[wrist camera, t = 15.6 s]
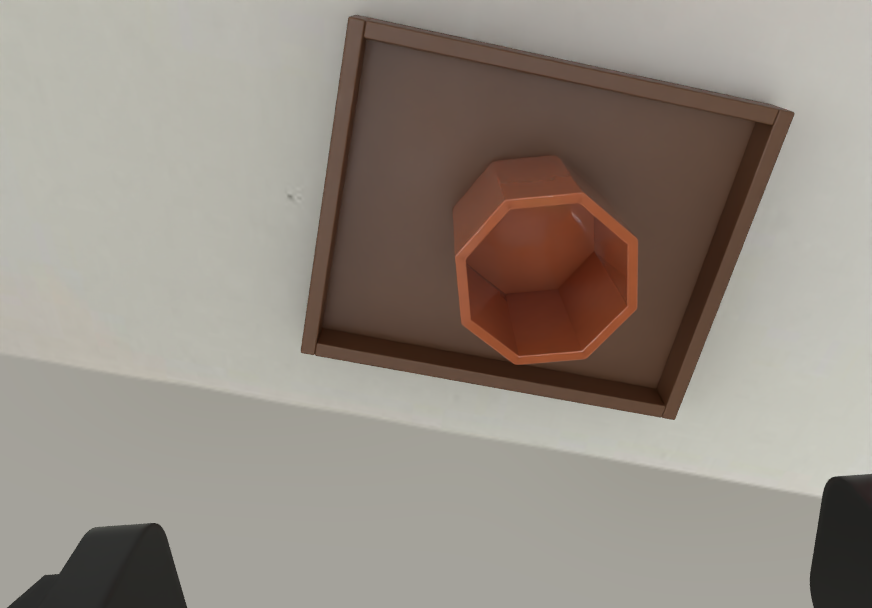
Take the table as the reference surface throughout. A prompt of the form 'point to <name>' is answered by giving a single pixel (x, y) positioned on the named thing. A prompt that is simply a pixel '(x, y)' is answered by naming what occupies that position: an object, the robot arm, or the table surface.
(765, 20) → the table surface
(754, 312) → the table surface
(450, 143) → the tray
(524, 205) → the small cup
